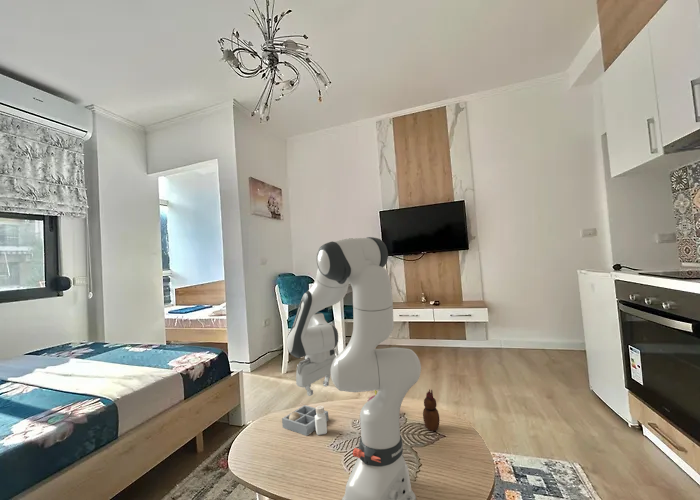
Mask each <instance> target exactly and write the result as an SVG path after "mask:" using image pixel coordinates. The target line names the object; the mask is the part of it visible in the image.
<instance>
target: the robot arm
mask: <svg viewBox="0 0 700 500" xmlns="http://www.w3.org/2000/svg"><path fill="white" fill-rule="evenodd" d="M388 252H389V251H388V248H387V245H386V244H385V242H384V241H383V240H382V239H380V238H377V237H373V236H372V237H371V236H367V237H359V238H358V237H357V238H356V237H355V238H345V239H341V240H336V241H329V242H326V243H324V244H322V245H320V246H319V248H318V251H317V253H316V264H317V269H316V276H315V279H314V281H313V283H312V285H311V286H310V288H309V289H308V290H306V292H304V293H303V295H302V297H301V300H300V303H299V305H298V306H297V307H298V308H297V312H296V314H295V317H294V320H293V322H292V323H293V324H292V326H291V329H290V330H289V333H288V334H287V337H286V347H287V351H288V353H289V354H290V355H291V356H292V357H295V358H297V359H301V358H303V357H304V359H303V360H300V361H299V363H298V364H297V366H296V375H295V384H296V385H297V387H299V388H303V389H305V390H306V395H307V396H308V397H310V396H313V395H314V390H313V389H312V388H311V387H312V384H313V383H315V382H317V381H319V380H321V379H323V378H324V380H323V381H322V386H323V387H325V388H326V387H328V386H330V379H331V381H332V383H333V385H334V386H335V388H336V389H337V390H338V391H340V392H347V393H363V392H372V391H374V392H375V390H376V391H377V394H376V395H375V394H374V395H375V396H374V395H373V396H374V397H373V398H372V399H371V400H369V401H368V402H365V403H364V405H362V408H361V410H360V412H359V426H360V437H359V438H360V439H359V443H358V448H357V447H354V448H353V451H352V456H353V457H357V459H356V462H355V463H354V466H353V468H352V471H351V472H350V475H349V478H348V479H347V481H346V485H345V489H344V491H345V492H344V495H343V496H342V499H341V500H417V496H416V494H415V492H414V491H413V490H412V485H411V478H410V472H409V466H408V464H407V462H406V460H405V458H404V455H403V452H404V448H403V447H404V444H403V443H404V442H403V438H402V435H401V430H400V427H401V425H400V418H401V417H400V415H401V413H400V412H401V407H402V403H403V400H404V398H405V396H406V394H407V393H408V392H409V390H410V389H411V388H412V387H413V386H414V385H416V384H417V382H418V381H419V380H420V376H421V371H422V365H421V361H420V358H419V357H418V354H416V352H415V351H414V350H413V349H410V348H405V347H397V346H396V347H384V348H377V347H378V346H379V345H380V344H382V343H383V342H385V341H386V340H388V338H390V336H391V335H392V333H393V331H394V324H395V323H394V303H393V301H394V300H393V291H392V284H391V280H390V275H389V273H388V271H387V269H386V268H385V266H386V264H387V262H388V258H389V253H388ZM349 285H350V286H351V289H352V308H353V309H352V310H353V312H352V315H353V316H352V317H353V318H352V319H353V322H352V323H353V326H352V333H351V337H350V339H349V341H348V343H347V344H346V347H345V348H344V349H343V350H342V351H341V352H339V354H337V355H336V352H337V351H336V347H337V345H338V344H339V331H338V328H336V327H335V326H334V325H333V324H331V323H330V324H329V323H328V322H327V320H326V318H325V314H324V313H322V312H320V311H322V310H325V308H328V307H331V306H334V305H337V304H338V303H340V302H341V301H342V300H343V299H344V298H345V296H346V294H347V292H348V290H349Z"/></svg>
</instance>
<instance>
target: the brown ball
mask: <svg viewBox="0 0 700 500" xmlns="http://www.w3.org/2000/svg"><path fill="white" fill-rule="evenodd" d="M292 412H293V413H292ZM292 412H291V414H290V413H289V414H290V416H289V419H290V420H293V421H296V420H297V419H299V418H300V414H299V413H297V412H294V411H292Z"/></svg>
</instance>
